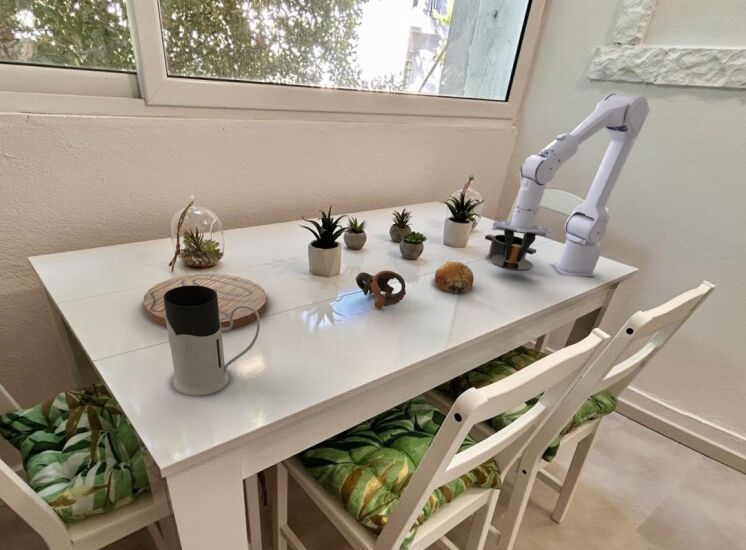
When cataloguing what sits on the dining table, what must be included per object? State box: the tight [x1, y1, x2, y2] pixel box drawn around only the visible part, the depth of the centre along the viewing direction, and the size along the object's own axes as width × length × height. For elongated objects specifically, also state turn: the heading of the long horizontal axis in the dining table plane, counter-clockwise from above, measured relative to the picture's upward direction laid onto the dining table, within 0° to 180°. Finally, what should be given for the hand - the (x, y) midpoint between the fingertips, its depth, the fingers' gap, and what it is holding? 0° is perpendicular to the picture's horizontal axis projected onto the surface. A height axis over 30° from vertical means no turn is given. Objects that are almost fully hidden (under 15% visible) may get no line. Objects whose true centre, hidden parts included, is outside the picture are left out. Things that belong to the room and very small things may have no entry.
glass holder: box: [164, 285, 261, 397], centre depth 72 cm, size 9×14×15 cm, turn 95°
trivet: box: [142, 273, 268, 330], centre depth 98 cm, size 25×25×2 cm
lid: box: [490, 244, 534, 272], centre depth 124 cm, size 11×11×6 cm
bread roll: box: [434, 260, 475, 294], centre depth 117 cm, size 10×10×8 cm
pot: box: [484, 234, 537, 261], centre depth 137 cm, size 10×16×6 cm, turn 43°
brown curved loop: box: [355, 270, 407, 310], centre depth 106 cm, size 12×10×8 cm
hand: (512, 259), depth 125 cm, fingers closed on lid, 2 cm apart
